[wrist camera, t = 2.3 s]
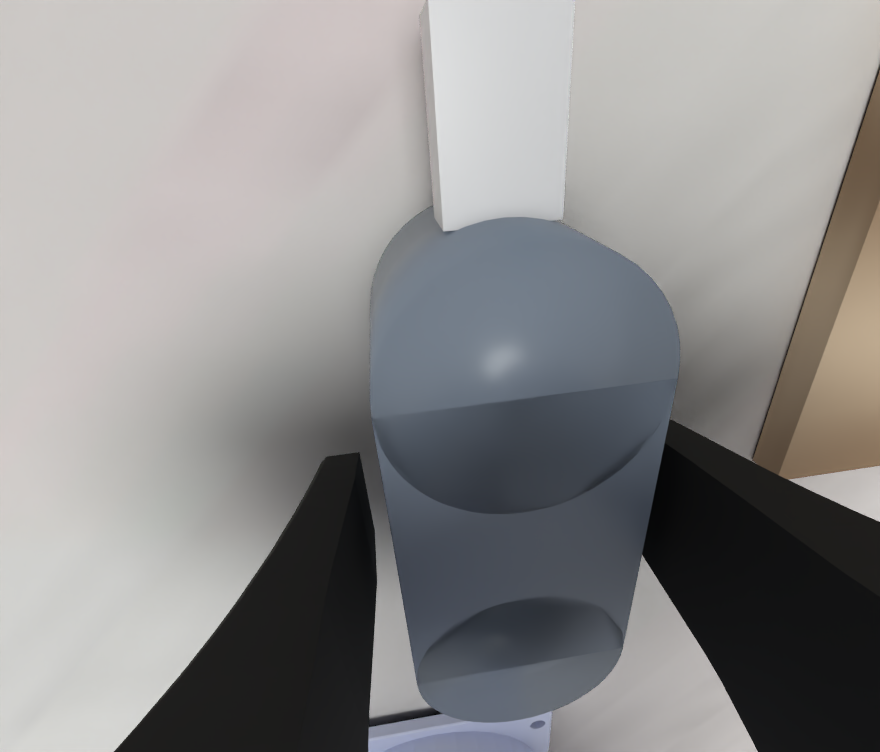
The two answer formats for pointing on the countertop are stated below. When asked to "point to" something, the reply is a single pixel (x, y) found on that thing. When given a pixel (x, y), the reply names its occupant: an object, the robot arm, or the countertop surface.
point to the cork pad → (836, 337)
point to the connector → (512, 384)
